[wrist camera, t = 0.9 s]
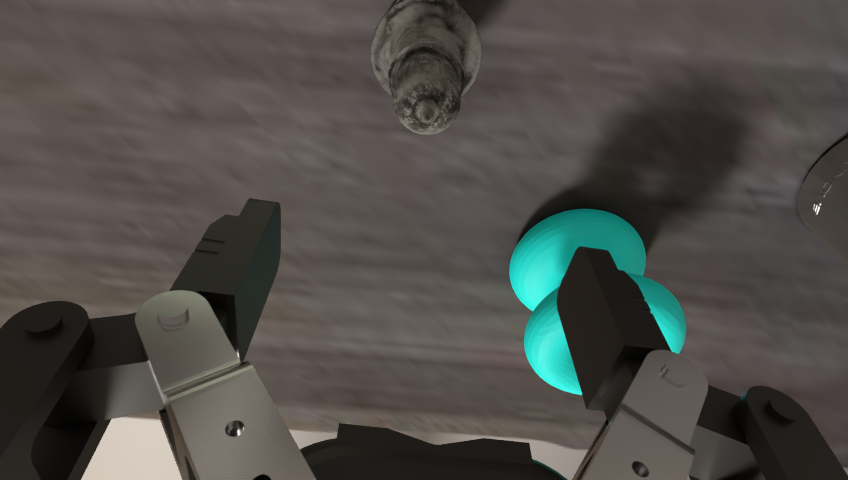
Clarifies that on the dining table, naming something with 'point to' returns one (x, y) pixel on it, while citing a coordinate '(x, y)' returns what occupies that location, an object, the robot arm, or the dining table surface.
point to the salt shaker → (426, 61)
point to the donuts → (546, 266)
